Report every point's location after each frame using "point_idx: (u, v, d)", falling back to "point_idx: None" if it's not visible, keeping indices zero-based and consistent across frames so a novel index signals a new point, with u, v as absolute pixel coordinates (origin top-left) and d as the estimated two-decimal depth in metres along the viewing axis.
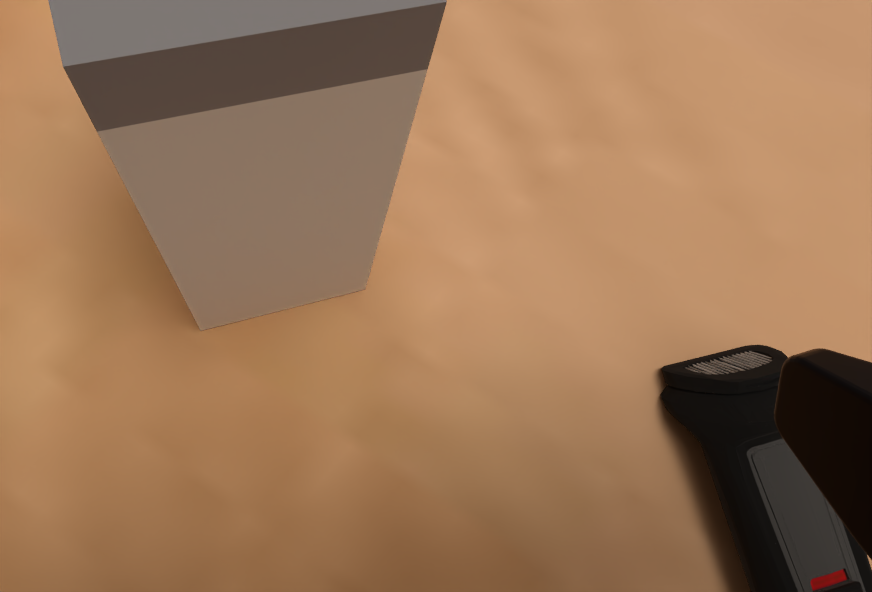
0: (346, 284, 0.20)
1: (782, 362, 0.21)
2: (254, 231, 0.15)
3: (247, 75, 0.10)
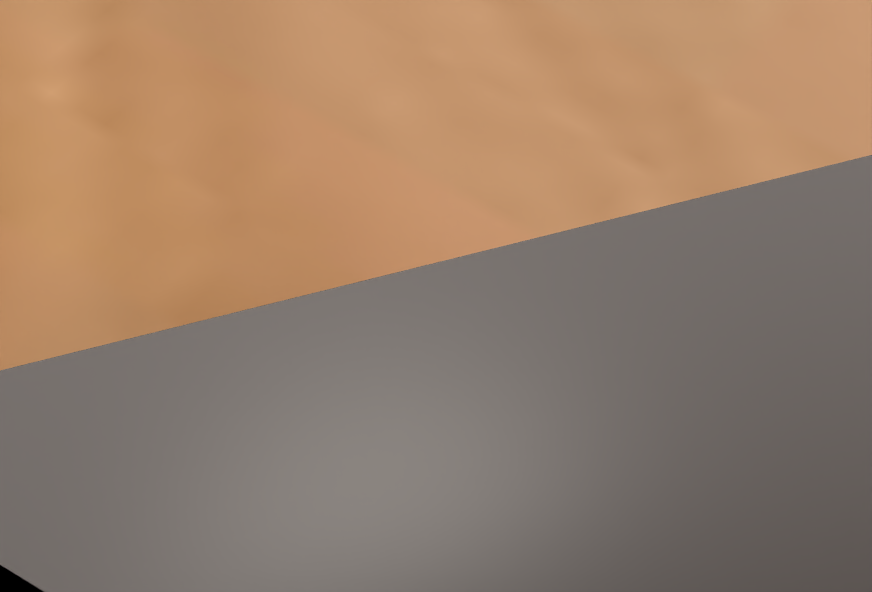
0: None
1: None
2: None
3: None
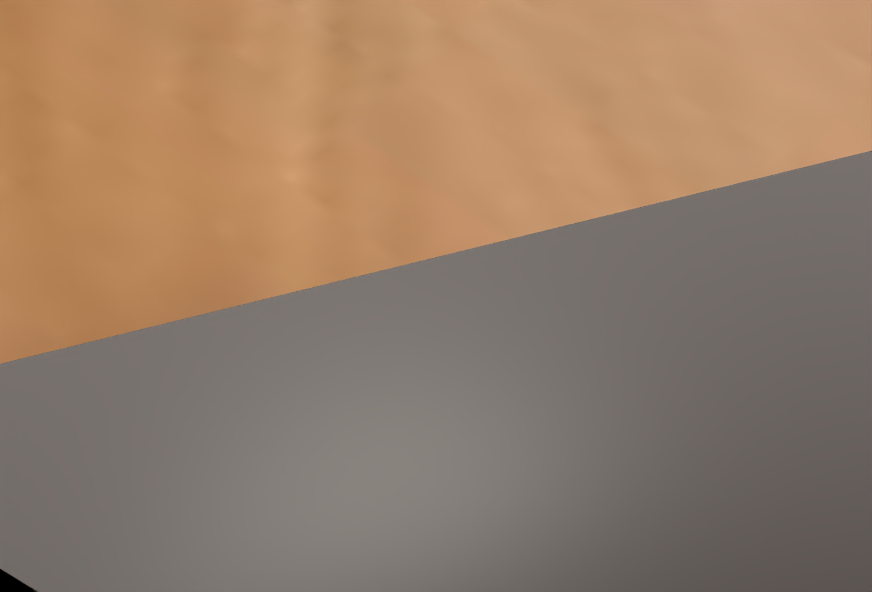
0: None
1: None
2: None
3: None
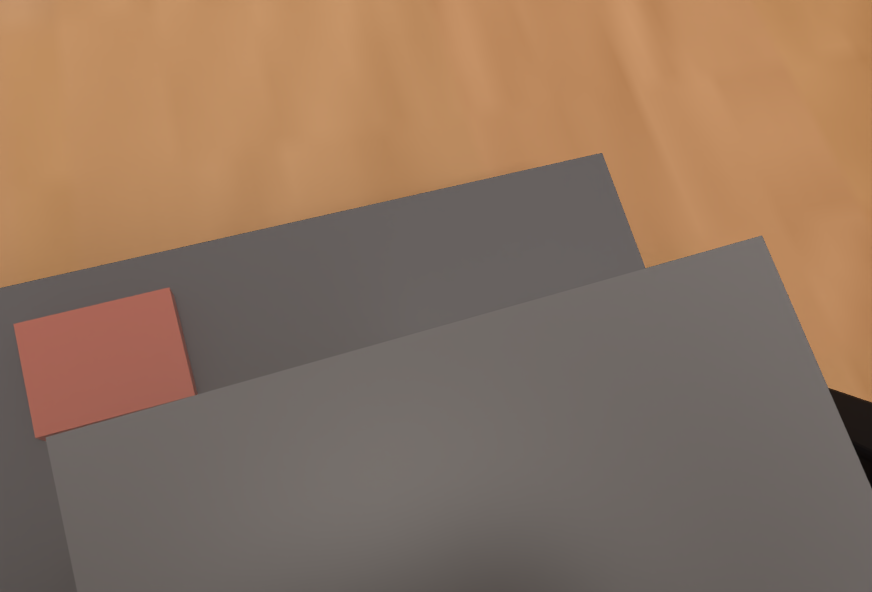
0: None
1: None
2: None
3: None
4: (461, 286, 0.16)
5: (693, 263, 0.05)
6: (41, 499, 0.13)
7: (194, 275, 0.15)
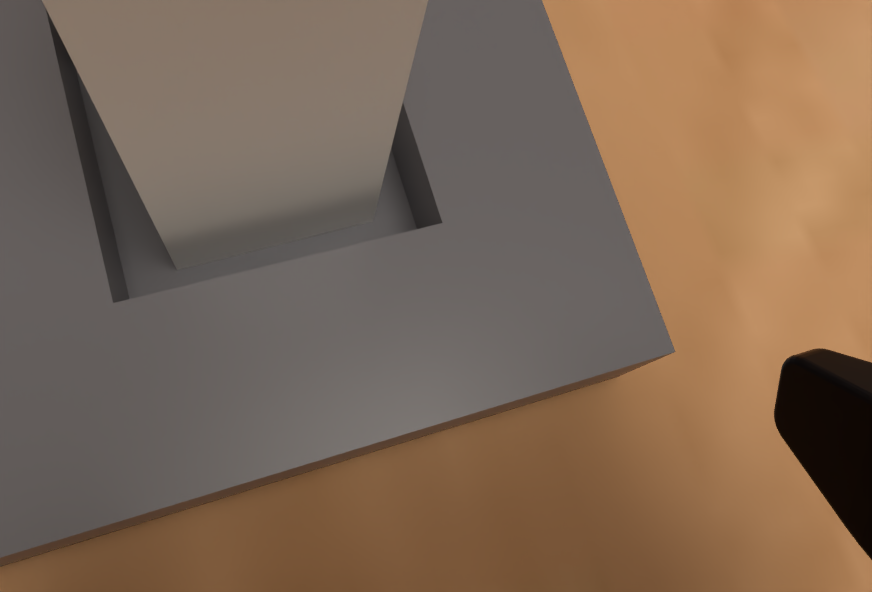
0: (350, 211, 0.17)
1: None
2: (234, 112, 0.11)
3: None
4: None
5: None
6: None
7: None
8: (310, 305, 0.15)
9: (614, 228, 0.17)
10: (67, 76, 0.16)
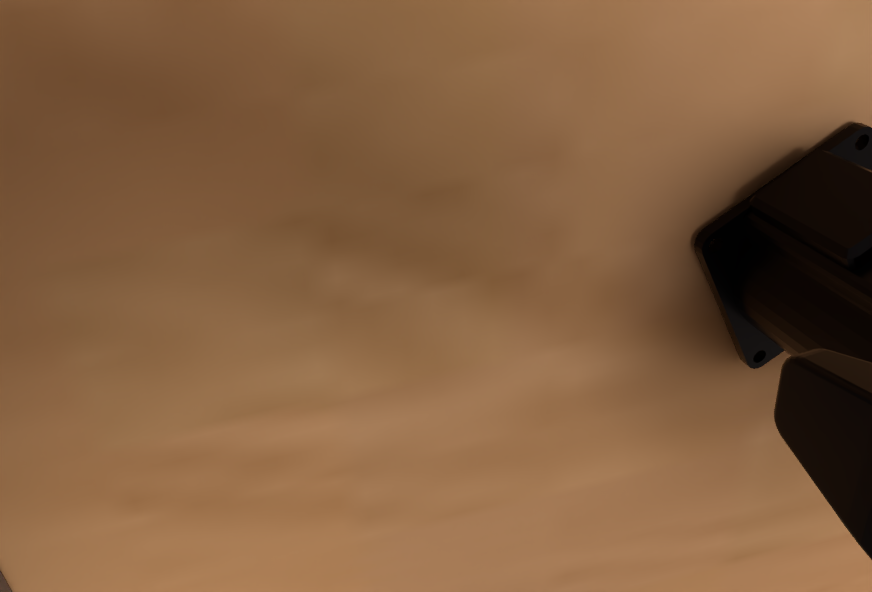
0: None
1: None
2: None
3: None
4: None
5: None
6: None
7: None
8: None
9: None
10: None
